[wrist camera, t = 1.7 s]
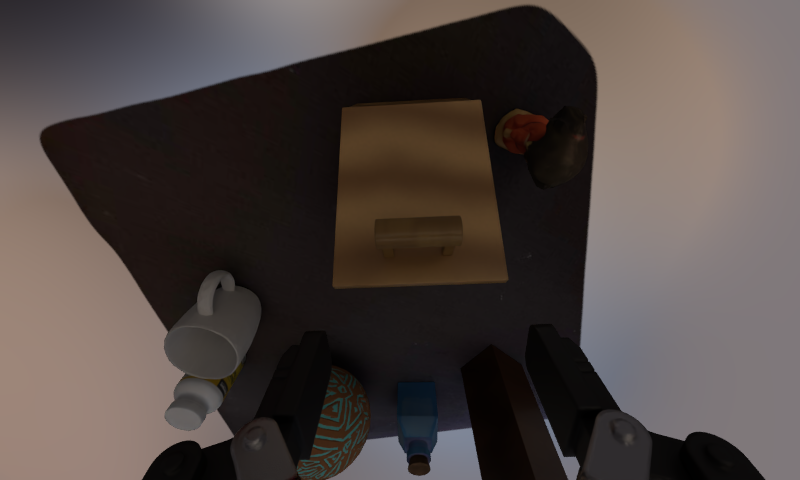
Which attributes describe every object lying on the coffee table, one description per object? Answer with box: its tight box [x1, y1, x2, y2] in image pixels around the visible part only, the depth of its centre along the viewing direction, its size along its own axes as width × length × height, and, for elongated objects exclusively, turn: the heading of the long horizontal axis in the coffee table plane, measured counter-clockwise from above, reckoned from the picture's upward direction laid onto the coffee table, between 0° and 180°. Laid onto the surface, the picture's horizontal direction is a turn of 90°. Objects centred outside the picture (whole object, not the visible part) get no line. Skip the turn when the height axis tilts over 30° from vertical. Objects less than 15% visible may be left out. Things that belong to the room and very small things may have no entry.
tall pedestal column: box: [461, 344, 568, 480], centre depth 42 cm, size 10×10×26 cm
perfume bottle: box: [397, 382, 438, 476], centre depth 51 cm, size 6×6×12 cm
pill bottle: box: [165, 355, 246, 431], centre depth 47 cm, size 6×6×12 cm
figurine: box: [494, 106, 588, 190], centre depth 31 cm, size 6×6×12 cm
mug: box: [164, 270, 261, 379], centre depth 43 cm, size 13×9×10 cm
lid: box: [333, 100, 508, 289], centre depth 23 cm, size 16×12×5 cm
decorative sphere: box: [297, 365, 371, 480], centre depth 48 cm, size 15×15×15 cm
